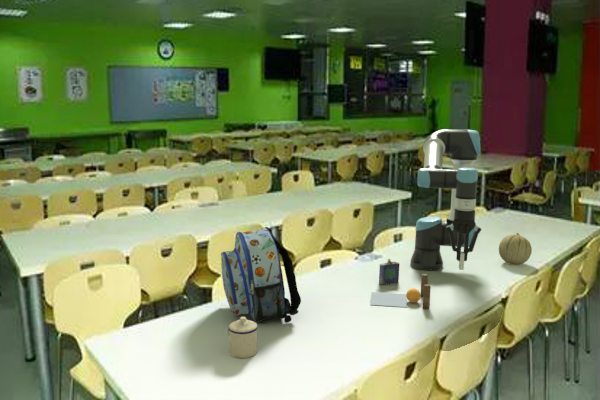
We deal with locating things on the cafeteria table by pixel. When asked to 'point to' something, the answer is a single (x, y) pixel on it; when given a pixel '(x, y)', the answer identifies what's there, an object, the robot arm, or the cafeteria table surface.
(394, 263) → the flask
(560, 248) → the cafeteria table surface
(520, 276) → the cafeteria table surface
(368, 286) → the cafeteria table surface
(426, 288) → the post
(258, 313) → the backpack
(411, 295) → the ball
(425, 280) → the post
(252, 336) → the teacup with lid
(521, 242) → the cantaloupe
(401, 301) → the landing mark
